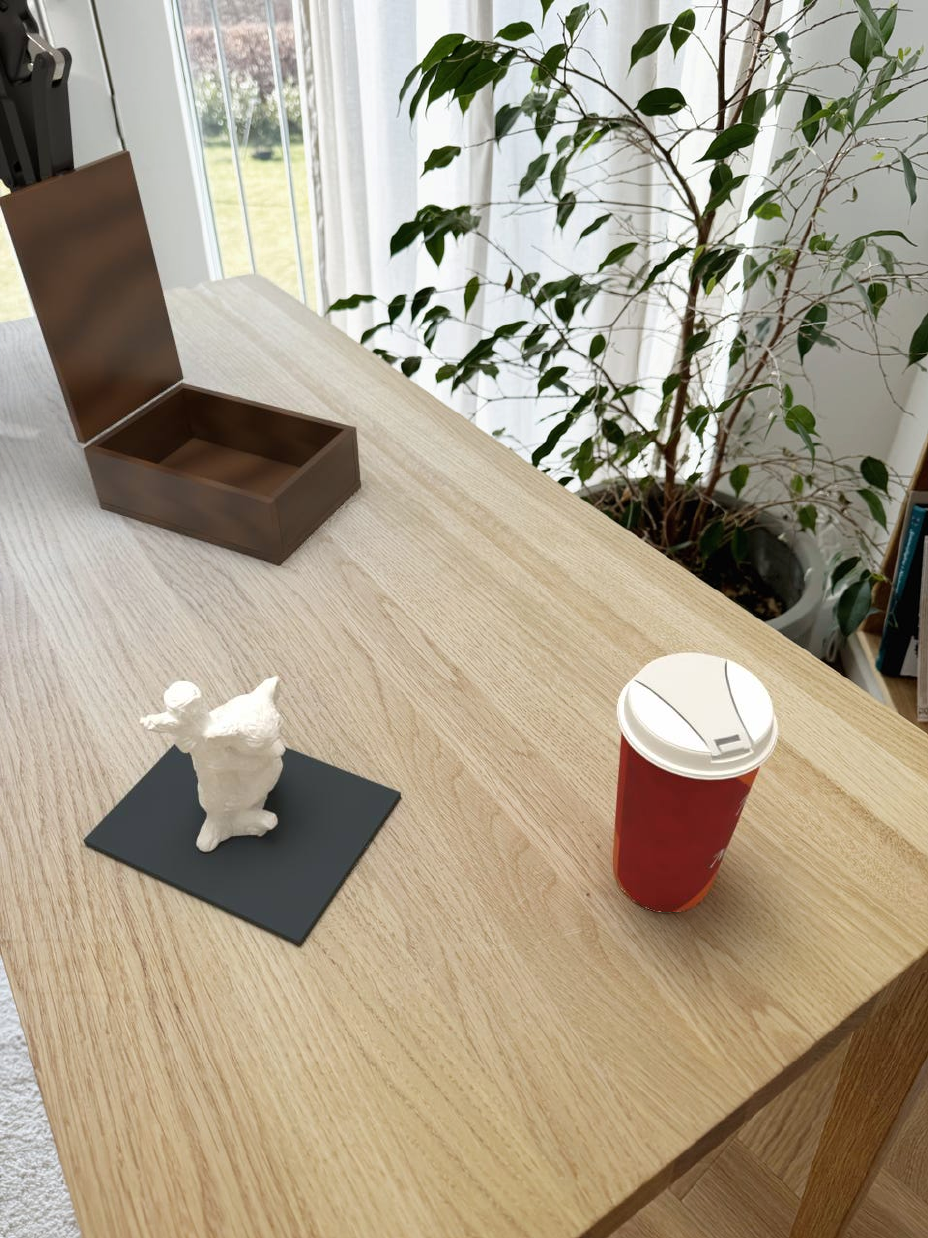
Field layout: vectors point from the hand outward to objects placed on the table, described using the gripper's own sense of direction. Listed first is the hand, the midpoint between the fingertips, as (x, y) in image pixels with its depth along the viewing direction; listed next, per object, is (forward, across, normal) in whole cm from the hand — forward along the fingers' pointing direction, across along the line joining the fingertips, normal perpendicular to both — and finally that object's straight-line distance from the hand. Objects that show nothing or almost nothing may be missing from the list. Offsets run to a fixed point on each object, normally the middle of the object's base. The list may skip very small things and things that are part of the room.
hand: (55, 267), depth 83 cm
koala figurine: (+19, +37, -30) cm, 52 cm away
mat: (+19, +38, -30) cm, 52 cm away
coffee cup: (+20, +63, -22) cm, 69 cm away
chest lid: (+2, +5, 0) cm, 5 cm away
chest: (+19, +15, 0) cm, 24 cm away
